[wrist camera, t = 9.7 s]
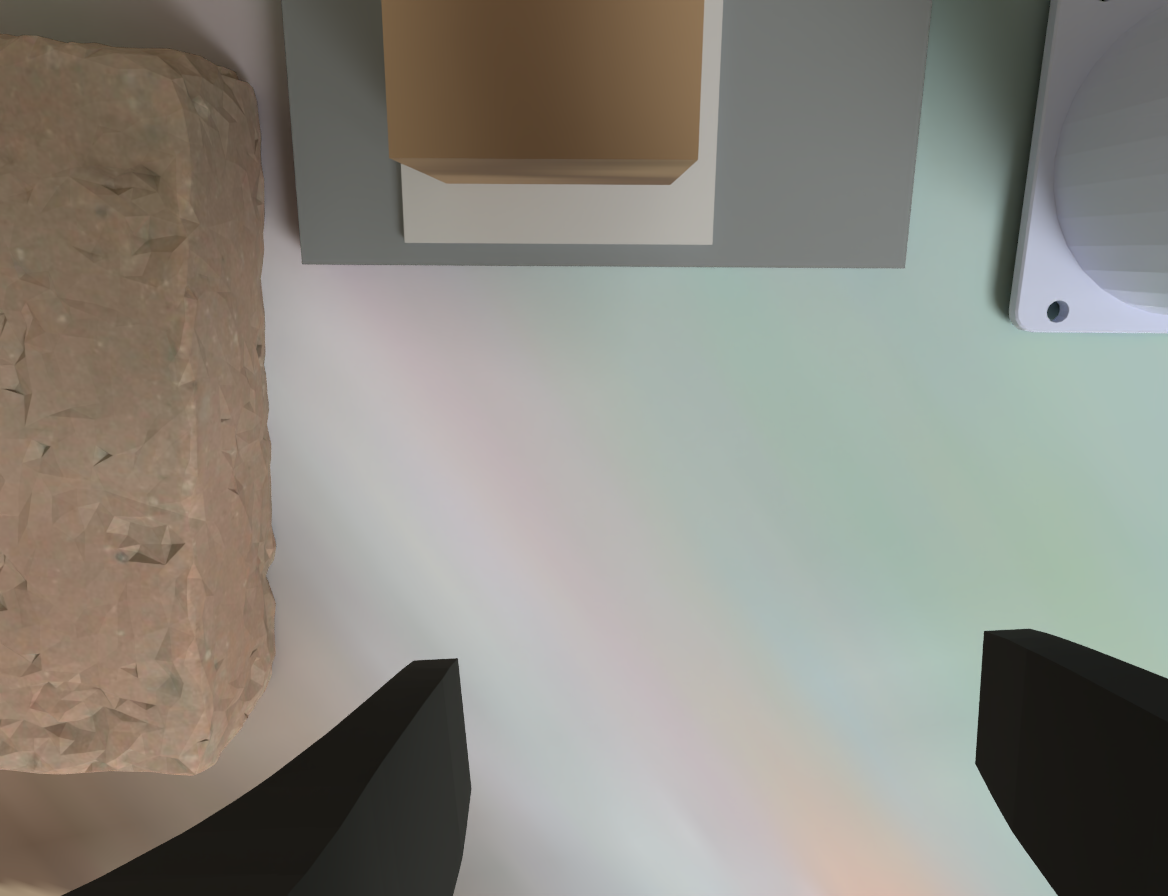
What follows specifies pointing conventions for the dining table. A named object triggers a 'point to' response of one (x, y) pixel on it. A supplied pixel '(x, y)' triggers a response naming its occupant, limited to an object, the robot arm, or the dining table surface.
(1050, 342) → the dining table surface
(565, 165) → the walnut block
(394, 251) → the board
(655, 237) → the pad
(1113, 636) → the dining table surface
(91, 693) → the brick
